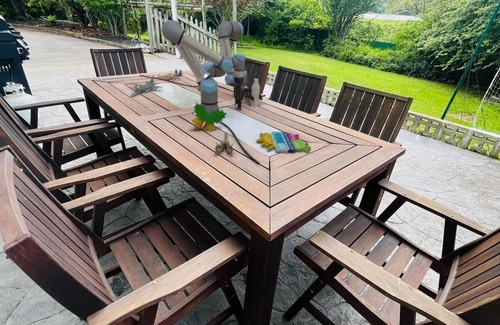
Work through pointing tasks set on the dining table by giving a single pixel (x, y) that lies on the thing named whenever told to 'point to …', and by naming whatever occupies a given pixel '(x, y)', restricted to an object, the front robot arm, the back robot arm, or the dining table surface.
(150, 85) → the airplane
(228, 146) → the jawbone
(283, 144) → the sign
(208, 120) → the ornament
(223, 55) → the back robot arm
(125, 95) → the dining table surface
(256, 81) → the bottle
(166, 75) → the toy
